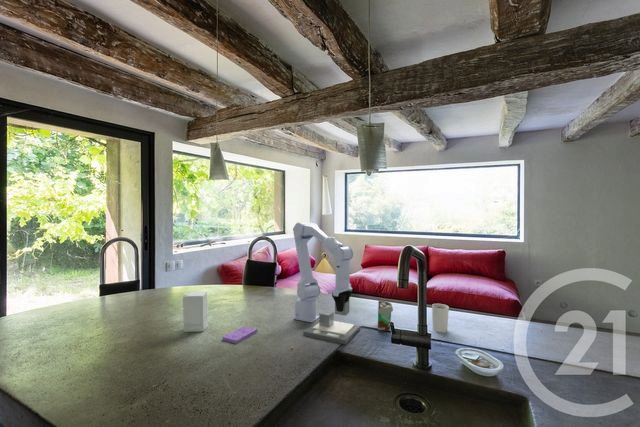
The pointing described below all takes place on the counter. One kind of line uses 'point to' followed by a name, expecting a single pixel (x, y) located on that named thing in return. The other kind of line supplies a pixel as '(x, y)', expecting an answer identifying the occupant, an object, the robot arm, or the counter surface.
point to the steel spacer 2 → (345, 308)
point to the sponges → (239, 334)
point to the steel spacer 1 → (326, 318)
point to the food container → (384, 315)
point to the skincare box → (195, 311)
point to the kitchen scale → (333, 332)
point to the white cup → (440, 317)
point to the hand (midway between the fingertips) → (342, 309)
